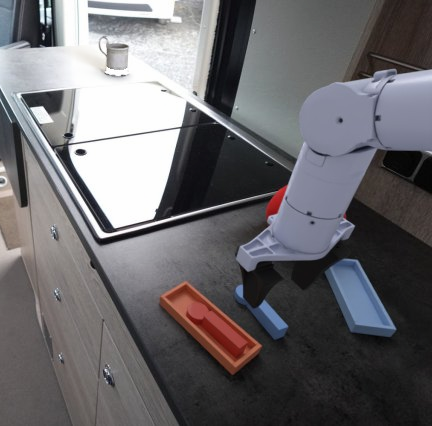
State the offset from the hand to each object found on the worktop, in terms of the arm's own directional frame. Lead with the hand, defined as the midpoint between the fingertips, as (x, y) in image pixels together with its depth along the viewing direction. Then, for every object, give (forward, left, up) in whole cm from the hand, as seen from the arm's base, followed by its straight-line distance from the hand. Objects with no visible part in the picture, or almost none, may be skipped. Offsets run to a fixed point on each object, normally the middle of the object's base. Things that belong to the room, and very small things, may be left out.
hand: (275, 292), depth 46 cm
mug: (+111, -46, -8) cm, 121 cm away
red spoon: (+4, +5, -8) cm, 10 cm away
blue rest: (-3, -18, -8) cm, 20 cm away
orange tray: (+4, +5, -8) cm, 11 cm away
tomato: (+10, -22, -8) cm, 26 cm away
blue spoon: (+3, -3, -8) cm, 9 cm away
